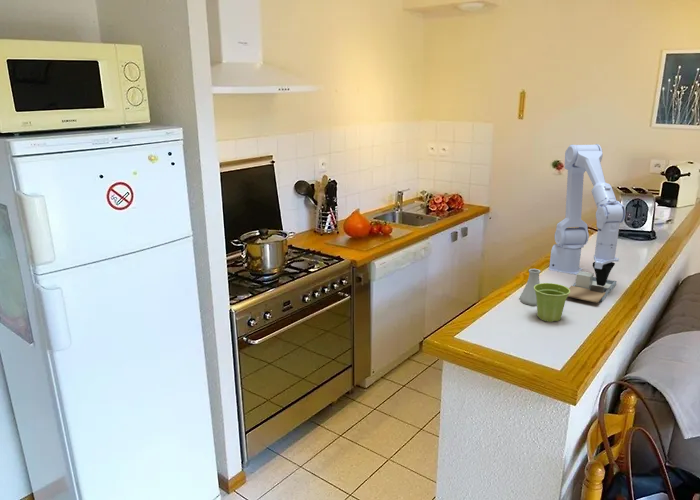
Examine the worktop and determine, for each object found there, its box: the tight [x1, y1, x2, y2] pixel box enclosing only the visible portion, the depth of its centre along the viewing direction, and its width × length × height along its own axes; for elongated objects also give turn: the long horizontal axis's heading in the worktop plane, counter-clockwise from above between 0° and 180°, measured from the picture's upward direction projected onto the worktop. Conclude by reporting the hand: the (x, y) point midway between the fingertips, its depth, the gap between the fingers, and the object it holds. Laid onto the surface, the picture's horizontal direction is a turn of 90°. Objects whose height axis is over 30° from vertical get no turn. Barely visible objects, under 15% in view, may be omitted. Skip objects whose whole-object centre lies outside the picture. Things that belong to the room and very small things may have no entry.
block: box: [575, 270, 595, 289], centre depth 166 cm, size 4×4×6 cm
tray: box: [572, 276, 617, 303], centre depth 168 cm, size 10×19×2 cm, turn 142°
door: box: [567, 285, 606, 304], centre depth 160 cm, size 10×9×2 cm
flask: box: [518, 268, 542, 307], centre depth 158 cm, size 7×7×10 cm
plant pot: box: [534, 282, 570, 323], centre depth 147 cm, size 9×9×9 cm
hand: (600, 284), depth 165 cm, fingers closed
